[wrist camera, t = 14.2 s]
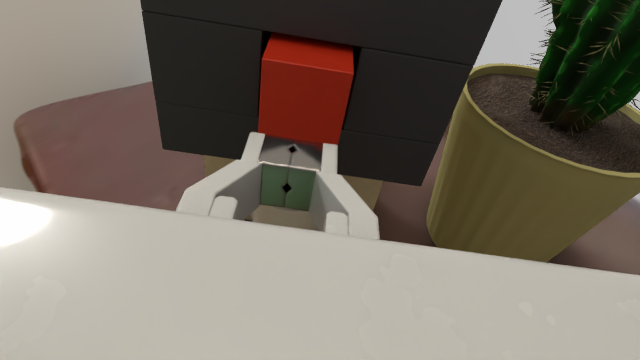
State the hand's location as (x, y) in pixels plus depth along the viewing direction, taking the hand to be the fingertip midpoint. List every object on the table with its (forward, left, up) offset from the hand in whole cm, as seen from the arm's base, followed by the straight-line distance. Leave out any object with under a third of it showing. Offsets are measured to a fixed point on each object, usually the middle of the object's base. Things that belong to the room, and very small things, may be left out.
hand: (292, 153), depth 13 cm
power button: (0, -5, -2) cm, 5 cm away
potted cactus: (-20, -16, -19) cm, 32 cm away
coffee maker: (0, -12, -19) cm, 23 cm away
